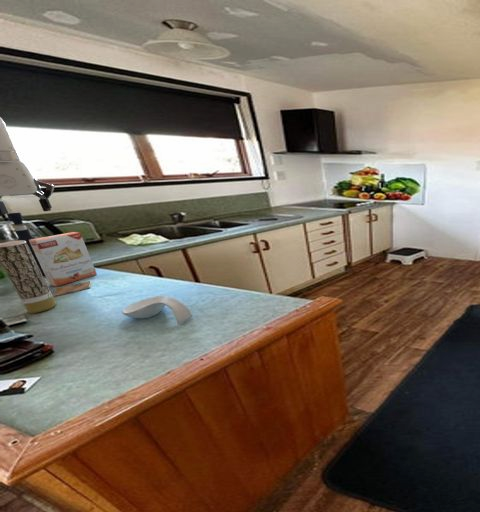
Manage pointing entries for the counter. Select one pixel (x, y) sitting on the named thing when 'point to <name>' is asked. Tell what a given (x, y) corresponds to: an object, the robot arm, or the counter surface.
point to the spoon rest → (157, 308)
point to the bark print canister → (26, 276)
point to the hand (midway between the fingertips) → (26, 212)
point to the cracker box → (63, 258)
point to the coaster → (72, 288)
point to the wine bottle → (23, 234)
